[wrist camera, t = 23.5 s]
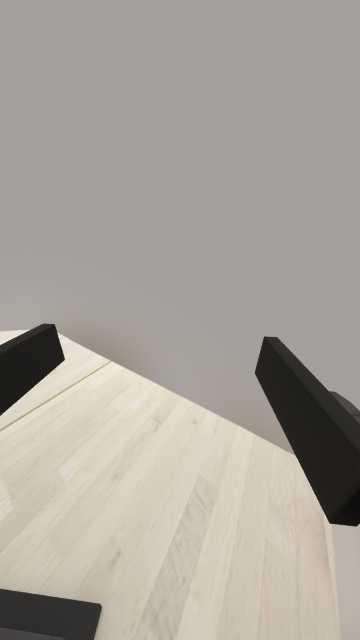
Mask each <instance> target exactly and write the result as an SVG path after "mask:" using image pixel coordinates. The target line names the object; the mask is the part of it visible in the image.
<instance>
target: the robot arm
mask: <svg viewBox="0 0 360 640" xmlns="http://www.w3.org/2000/svg"><path fill="white" fill-rule="evenodd" d="M64 360H65V358H64V354H63V351H62V348H61V344H60V341H59V337H58V334H57V330H56V327H55V324H42V325H40V326H38V327H36V328H34V329H31V330H29V331H27V332H25V333H23V334H21V335H19V336H17V337H15V338H13V339H11V340H9V341H7V342H5V343H3V344H1V345H0V416H1V415H2V414H3V413H4V412H5V411H6V410H8V409H9V408H10V407H11V406H12V405H13V404H14V403H16V402H17V401H18V400H19V399H20V398H21V397H23V396H24V395H25V394H26V393H27V392H28V391H29V390H31V389H32V388H33V387H34V386H35V385H36V384H38V383H39V382H40V381H41V380H42V379H43V378H45V377H46V376H47V375H48V374H49V373H50V372H51V371H53V370H54V369H55V368H56V367H57V366H58V365H60V364H61V363H62V362H63V361H64ZM255 375H256V377H257V379H258V381H259V383H260V385H261V387H262V389H263V391H264V393H265V395H266V397H267V399H268V401H269V403H270V405H271V407H272V409H273V411H274V413H275V415H276V417H277V419H278V421H279V423H280V425H281V427H282V429H283V431H284V433H285V435H286V437H287V439H288V441H289V443H290V445H291V447H292V449H293V451H294V453H295V455H296V457H297V459H298V461H299V463H300V465H301V467H302V469H303V471H304V473H305V475H306V477H307V479H308V481H309V483H310V485H311V487H312V489H313V491H314V493H315V495H316V497H317V499H318V501H319V503H320V505H321V507H322V509H323V511H324V513H325V515H326V517H327V519H328V521H329V523H330V524H338V525H347V526H358V525H359V524H360V411H359V410H358V409H357V408H356V407H355V406H354V405H353V404H352V403H351V402H349V401H348V400H346V399H345V398H343V397H342V396H340V395H339V394H338V393H336V392H330V391H328V390H327V389H326V388H325V387H324V386H323V385H322V384H321V383H320V382H319V381H318V379H317V378H315V376H314V375H313V374H312V373H311V372H310V371H309V370H308V369H307V368H306V367H305V366H304V365H303V364H302V363H301V362H300V361H299V360H298V359H297V358H296V356H295V355H294V354H293V353H292V352H291V351H290V350H289V349H288V348H287V347H286V346H285V345H284V344H283V343H282V342H281V341H280V340H279V339H278V338H277V337H264V339H263V343H262V347H261V351H260V354H259V359H258V362H257V366H256V370H255Z"/></svg>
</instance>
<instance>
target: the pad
mask: <svg viewBox="0 0 360 640" xmlns="http://www.w3.org/2000/svg"><path fill="white" fill-rule="evenodd" d="M101 609H102V606H101V605H100V604H98V603H91V602H84V601H78V600H71V599H64V598H58V597H51V596H44V595H38V594H31V593H25V592H18V591H11V590H5V589H0V640H94V637H95V633H96V629H97V625H98V621H99V617H100V613H101Z"/></svg>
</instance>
